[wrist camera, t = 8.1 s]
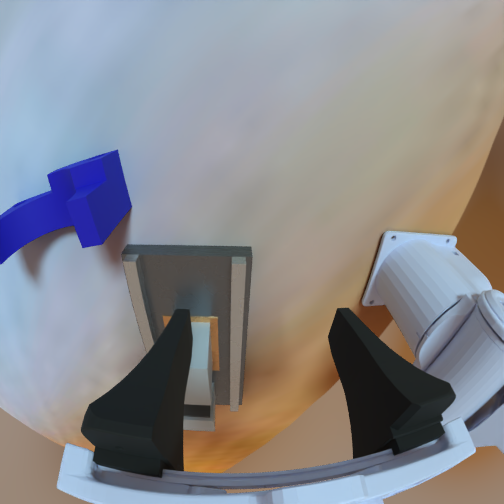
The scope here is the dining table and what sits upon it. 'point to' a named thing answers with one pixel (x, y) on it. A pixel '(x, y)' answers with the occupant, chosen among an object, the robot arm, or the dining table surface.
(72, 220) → the cable clip
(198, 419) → the small hollow grey box
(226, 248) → the rail
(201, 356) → the pale grey block
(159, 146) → the dining table surface
